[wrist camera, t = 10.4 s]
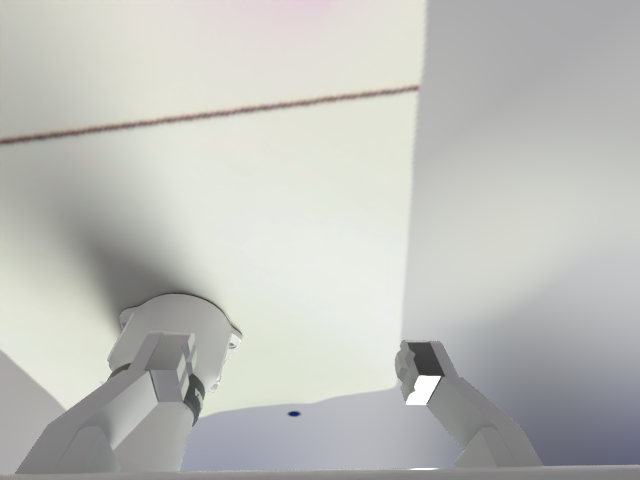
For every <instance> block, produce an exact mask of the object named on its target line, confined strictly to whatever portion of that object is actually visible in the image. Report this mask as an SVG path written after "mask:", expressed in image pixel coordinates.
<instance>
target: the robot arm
mask: <svg viewBox="0 0 640 480" xmlns="http://www.w3.org/2000/svg"><path fill="white" fill-rule="evenodd" d="M119 321H120V325H121V330H122V333H121V334H120V336H119V338H118V340H117V341H116V343H115V345H114V347H113V349H112V351H111V352H110V354H109V356H108V360H107V361H108V362H109V367H110V369H111V371H112V373H111V375H110V377H109V378H108V380H107V382H105V383H104V384H103V385H102V386H100V387H99V388H98V389H96V390H95V391H94V392H92V393H91V394H89V395H88V396H87V397H85V398H84V399H83V400H81V401H80V402H78V403H77V404H76V405H74V406H73V407H72V408H70V409H69V410H68V411H66V412H65V413H64V414H62V415H61V416H59V417H58V418H57V419H55V420H54V421H53V422H51V423H50V424H48V426H47V427H46V429H45V430H44V431H43V433H42V434H41V436H40V437H39V439H38V440H37V442H36V443H35V445H34V446H33V447H32V449H31V450H30V452H29V453H28V455H27V456H26V458H25V459H24V461H23V462H22V463H21V465H20V466H19V468H18V469H17V471H16V472H15V474H0V480H640V465H599V466H543V464H542V462H541V461H540V459H539V457H538V456H537V454H536V452H535V451H534V449H533V448H532V446H531V444H530V442H529V440H528V439H527V437H526V435H525V434H524V432H523V430H522V429H521V427H520V426H519V425H518V424H517V423H516V422H514V421H513V420H512V419H511V418H510V417H508V416H507V415H506V414H505V413H504V412H503V411H501V410H500V409H499V408H498V407H497V406H495V405H494V404H493V403H492V402H491V401H490V400H489V399H487V398H486V397H485V396H484V395H483V394H481V393H480V392H479V391H478V390H477V389H475V388H474V387H473V386H472V385H471V384H470V383H469V382H467V381H466V380H465V379H464V378H463V377H459V376H458V374H457V372H456V370H455V368H454V366H453V364H452V362H451V360H450V358H449V356H448V354H447V352H446V350H445V348H444V346H443V344H442V343H441V342H440V341H426V340H403V341H402V342H401V345H400V347H401V351H399V352H398V353H397V355H396V358H395V370H396V374H397V377H398V378H399V379H400V380H401V381H402V382H403V383H402V386H401V390H402V393H403V397H404V400H405V403H406V404H417V405H427V407H428V409H429V410H430V411H431V412H432V413H433V414H434V416H435V417H436V418H437V419H438V421H439V422H440V423H441V424H442V425H443V426H444V428H445V429H446V430H447V431H448V432H449V434H450V435H451V436H452V437H453V438H454V440H455V441H456V442H457V443H458V444H459V446H460V447H461V448H462V449H463V450H464V451H463V452H462V453H461V455H460V456H459V457H458V459H457V460H456V462H455V465H456V467H457V468H399V469H398V468H395V469H394V468H392V469H328V470H327V469H322V470H257V471H256V470H252V471H189V472H188V471H186V472H185V471H183V472H180V468H181V464H182V460H183V457H184V453H185V450H186V446H187V442H188V438H189V435H190V432H191V428H192V427H193V426H194V425H195V423H196V421H197V419H198V416H199V414H200V412H201V409H202V406H203V400H204V396H205V393H206V392H211V393H214V392H215V390H216V388H217V386H218V384H219V382H220V379H221V373H222V370H223V366H224V365H225V364H226V362H227V361H228V360H229V358H230V357H231V356H232V354H233V353H234V352H235V350H236V349H237V348H238V346H239V345H240V344H241V341H242V338H243V337H242V335H241V334H240V333H239V332H238V331H237V330H236V329H234V328H233V327H232V326H231V325H230V323H229V321H228V320H227V318H226V316H225V315H224V314H223V313H222V312H221V311H220V310H219V309H218V308H217V307H216V306H214V305H213V304H211V303H209V302H207V301H205V300H203V299H201V298H198V297H194V296H190V295H184V294H166V295H161V296H157V297H154V298H152V299H150V300H148V301H147V302H145V303H144V304H142V305H141V306H138V307H133V308H128V309H125V310H123V311H122V312H121V314H120V316H119Z"/></svg>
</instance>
